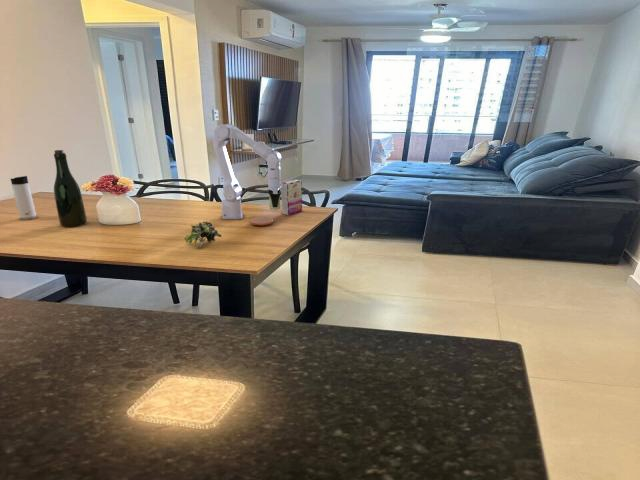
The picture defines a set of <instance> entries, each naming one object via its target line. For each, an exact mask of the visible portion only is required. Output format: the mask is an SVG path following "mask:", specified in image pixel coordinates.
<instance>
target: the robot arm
mask: <svg viewBox="0 0 640 480" xmlns="http://www.w3.org/2000/svg"><path fill="white" fill-rule="evenodd" d="M213 134H214V135H213V140H212V147H213V150H214V153H215V157H216V160H217V163H218V166H219V169H220V173H221V176H222V179H223V183H222V188H223V197H224V199H221V216H222V220H242V219H243V218H244V213H243V212H242V211H243V209H242V197H241V196H242V194H243V188H242V187H241V185H240V184H239V181H238V180H237V178H236V177H235V174H234V170H233V167H232V164H231V161H230V158H229V154H228V151H227V147H226V145H227V144H228V143H229V141H230V140H231V139H235V140H236V139H237V140H239V141H241V142H242V143H244V144H246V145H247V146H249V147H250V148H252V151H253V153H255V154H256V155H257V156H259V157H261V158H262V159H264V160H265V161H266V163H267V185H268V186H267V190H268V195H269V196H270V197H271V200H272V206H273V207H278V201H279V197H280V198H281V189H282V188H283V186H281V161H282V155H281V153H280V152H279V151H278V150H275V149H274V148H273V147H269V146H268V145H266V142H264V141H261V140H259V141H256V140H255V139H253V138H252V137H251V136H249V135H248V134H247V133H245V132H244V131H242V130H241V129H240V128H239V127H238V126H234V125H233V124H232V123H226V124H218V125H217V126H216V128H214V130H213Z"/></svg>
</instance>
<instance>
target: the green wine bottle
mask: <svg viewBox="0 0 640 480" xmlns="http://www.w3.org/2000/svg"><path fill="white" fill-rule="evenodd" d="M53 158H54V162H55V170H56V172H55V175H56V176H55V179H54V184H53V195H54V201H55V207H56V212H57V217H58V222H59V225H60V226H61V227H63V228H75V227H80V226H84V225H86V224H87V223H88V218H87V214H86V208H85V204H84V199H83V195H82V191H81V187H80V186H79V184H78V182H77V181H76V179H75V177H74V176H73V174H72V173H71V169H70V167H69V163H68V158H67V154H66V152H65V151H64V149H56V150H54V153H53Z"/></svg>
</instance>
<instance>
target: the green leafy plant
mask: <svg viewBox="0 0 640 480" xmlns="http://www.w3.org/2000/svg"><path fill="white" fill-rule="evenodd" d="M190 227H191V231H190V234H189V235H187V234H186V235H185V237H184V241H185V243H186V244H189V245H191V243H193V244H194V245H195V246H197V241H199V248H198V249H201V247H202V245H203V243H204V242H206V241H207V242H209V243H211V242H215V241H216V238H215V237H218V238H221V237H222V234H220V233H218V230H217V229H216V227H215V226H213V223H212V222H210V221H208V220H206V221H202V222H199V223H198V224H195V225H193V224H191V225H190Z"/></svg>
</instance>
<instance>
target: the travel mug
mask: <svg viewBox="0 0 640 480" xmlns="http://www.w3.org/2000/svg"><path fill="white" fill-rule="evenodd" d="M10 182H11V188H12V192H13V195H14V200H15V204H16V208H17V212H18V215H19V219H20V220H21V221H28V220H35V219H36V218H37V217H38V216H37V213H36V208H35V204H34V200H33V196H32V192H31V187H30V184H29V180H28V176H27V175H24V176H16V177H13V178H10Z"/></svg>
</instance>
